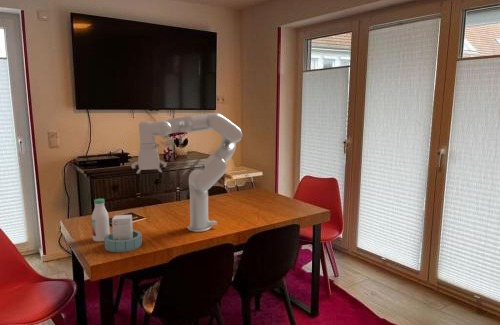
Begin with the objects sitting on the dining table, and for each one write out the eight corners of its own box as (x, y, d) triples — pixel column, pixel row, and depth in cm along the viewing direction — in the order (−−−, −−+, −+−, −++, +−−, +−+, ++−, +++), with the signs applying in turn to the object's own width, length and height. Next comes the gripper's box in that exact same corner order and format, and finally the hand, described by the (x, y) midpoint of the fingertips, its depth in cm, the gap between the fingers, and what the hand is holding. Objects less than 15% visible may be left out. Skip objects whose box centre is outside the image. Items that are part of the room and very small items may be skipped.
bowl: (143, 239, 184) (142, 229, 184) (139, 251, 169) (139, 240, 168) (108, 240, 181) (108, 230, 181) (102, 253, 166) (101, 242, 165)
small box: (133, 240, 179) (132, 214, 177) (131, 245, 173) (130, 218, 171) (115, 241, 178) (114, 215, 176) (113, 246, 171) (111, 219, 169)
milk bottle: (112, 236, 188) (110, 197, 185) (106, 242, 180) (104, 201, 177) (96, 236, 187) (94, 197, 184) (90, 242, 180) (87, 201, 177)
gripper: (166, 145, 191) (167, 178, 193) (130, 146, 187) (132, 180, 190) (165, 146, 183) (167, 180, 186) (128, 148, 180) (131, 183, 183)
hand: (150, 180), depth 188 cm, fingers open, 9 cm apart
